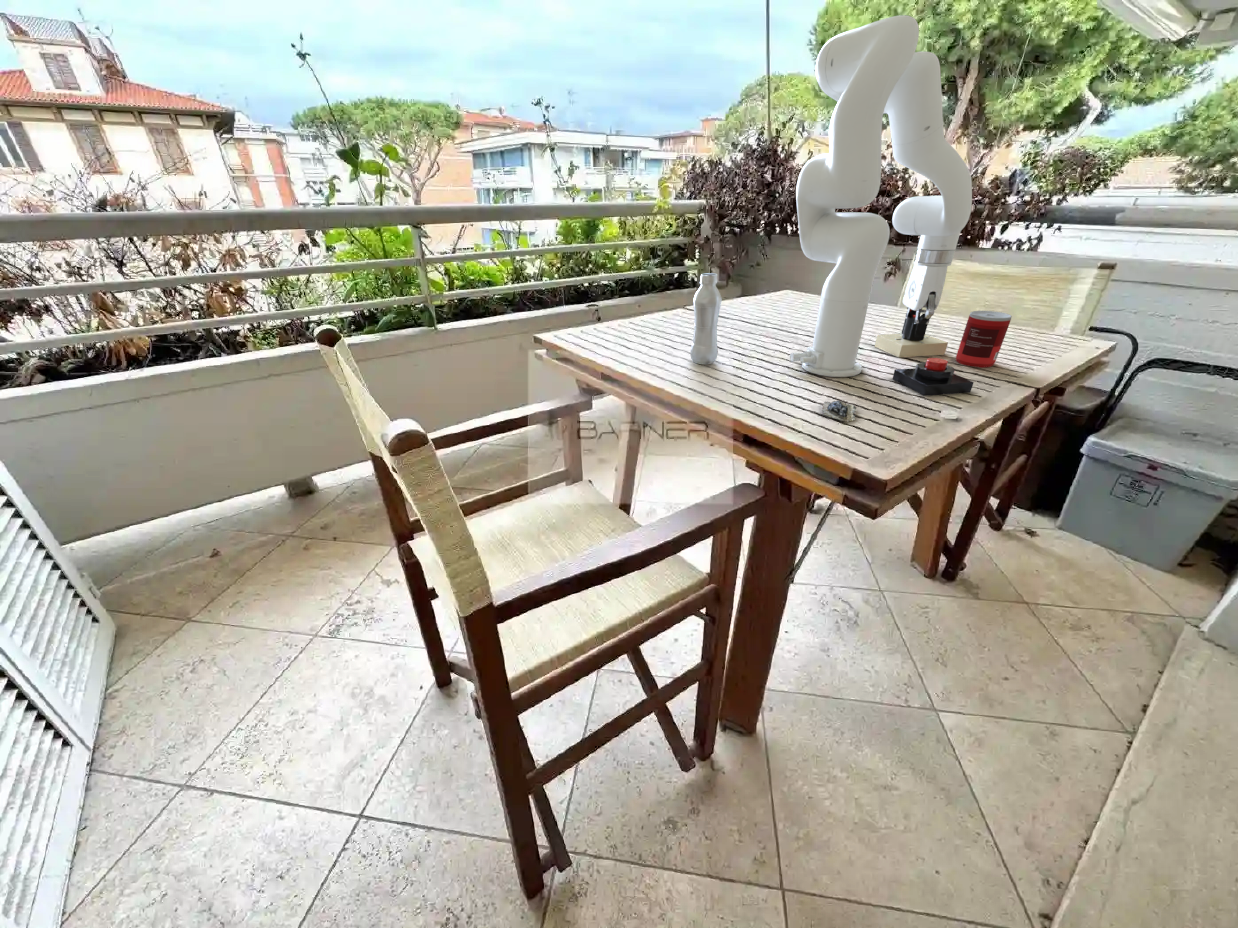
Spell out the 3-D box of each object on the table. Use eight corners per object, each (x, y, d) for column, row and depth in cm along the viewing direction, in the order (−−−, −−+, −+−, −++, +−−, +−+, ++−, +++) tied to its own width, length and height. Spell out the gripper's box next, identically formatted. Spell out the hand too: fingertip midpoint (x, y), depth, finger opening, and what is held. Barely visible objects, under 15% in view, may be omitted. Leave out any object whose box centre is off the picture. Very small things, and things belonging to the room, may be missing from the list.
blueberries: (850, 404, 91) (852, 395, 90) (868, 421, 84) (871, 411, 83) (814, 405, 92) (816, 395, 91) (829, 422, 85) (831, 412, 84)
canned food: (982, 357, 115) (998, 310, 109) (1001, 368, 108) (1020, 318, 102) (948, 357, 115) (962, 310, 110) (965, 368, 108) (982, 318, 103)
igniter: (923, 396, 94) (929, 376, 92) (891, 379, 103) (896, 361, 101) (970, 392, 95) (977, 373, 93) (935, 376, 104) (940, 358, 102)
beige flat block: (898, 357, 116) (902, 344, 115) (874, 346, 125) (877, 334, 123) (944, 354, 117) (948, 342, 116) (917, 344, 126) (920, 332, 125)
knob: (924, 341, 117) (930, 318, 115) (904, 340, 118) (910, 318, 116) (918, 336, 121) (924, 315, 119) (899, 336, 122) (904, 314, 119)
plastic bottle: (686, 365, 114) (690, 276, 104) (693, 357, 120) (698, 272, 110) (713, 368, 112) (720, 277, 102) (719, 360, 118) (726, 272, 108)
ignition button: (932, 372, 96) (935, 363, 95) (920, 366, 99) (923, 358, 98) (949, 371, 96) (952, 362, 95) (936, 365, 99) (939, 357, 98)
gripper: (903, 254, 119) (885, 328, 127) (929, 262, 104) (906, 346, 113) (937, 253, 117) (916, 329, 126) (967, 262, 103) (941, 347, 112)
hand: (912, 336), depth 119 cm, fingers closed on knob, 4 cm apart
